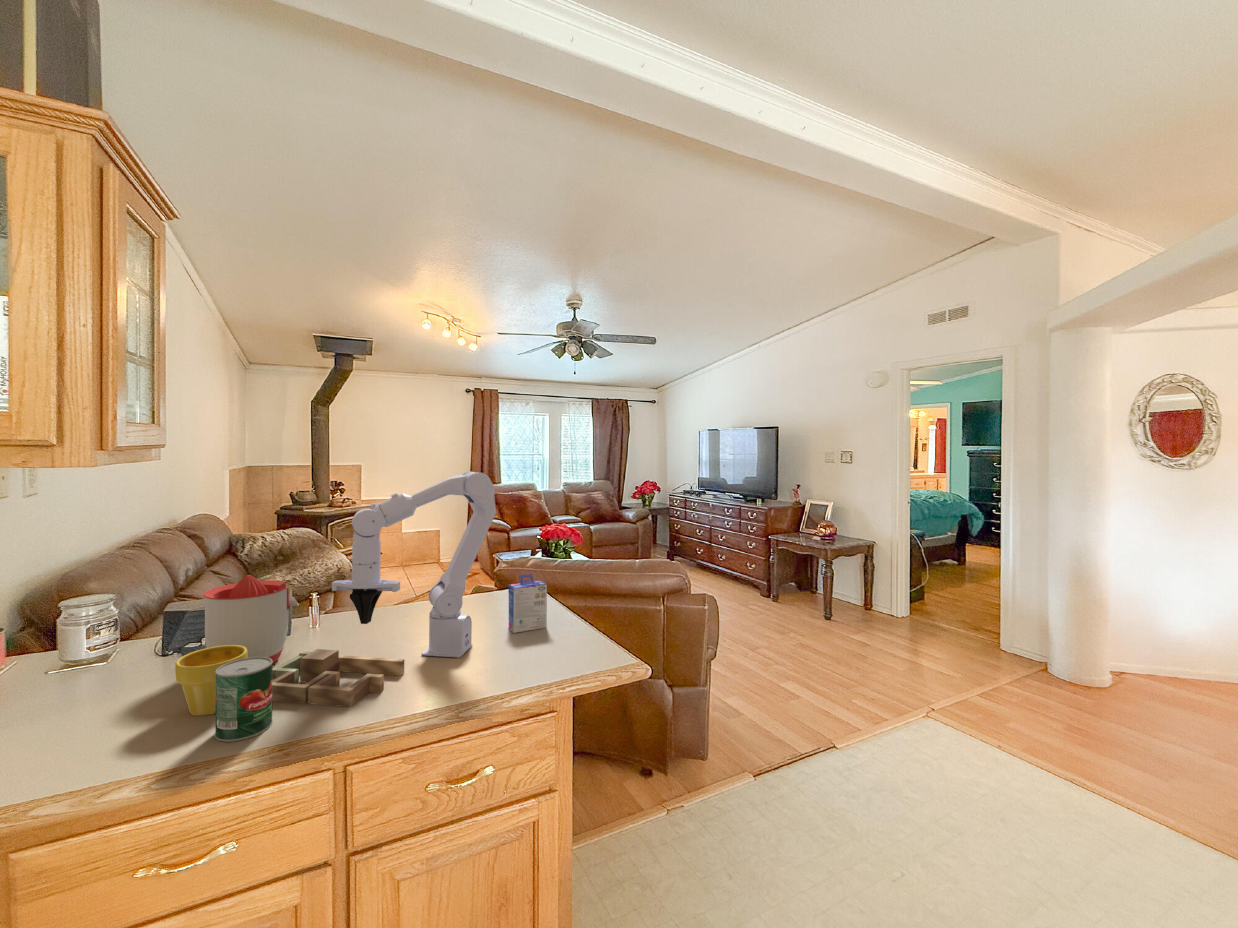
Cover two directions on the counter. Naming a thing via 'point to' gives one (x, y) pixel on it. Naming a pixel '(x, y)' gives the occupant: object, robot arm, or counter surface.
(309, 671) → the walnut block
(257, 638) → the citrus juicer
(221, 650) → the plant pot
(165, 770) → the counter surface
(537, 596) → the ink cartridge box
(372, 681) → the trap lane
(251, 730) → the canned tomato
